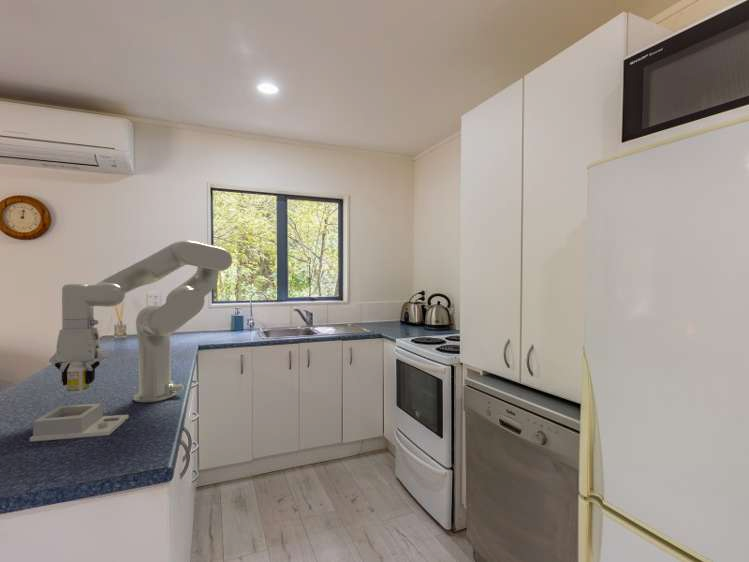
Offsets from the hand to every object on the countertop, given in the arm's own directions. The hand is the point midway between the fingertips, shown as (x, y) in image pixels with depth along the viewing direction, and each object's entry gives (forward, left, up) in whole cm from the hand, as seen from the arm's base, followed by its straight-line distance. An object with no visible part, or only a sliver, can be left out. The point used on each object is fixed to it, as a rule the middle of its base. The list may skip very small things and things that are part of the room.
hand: (78, 382), depth 115 cm
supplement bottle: (0, 0, -3) cm, 3 cm away
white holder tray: (-7, +13, -9) cm, 18 cm away
